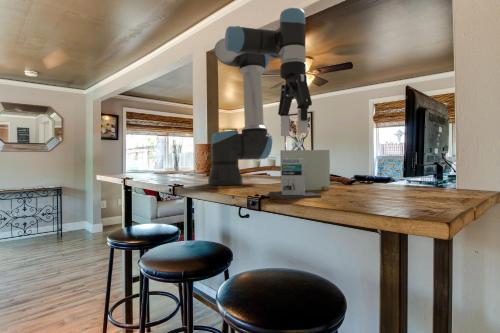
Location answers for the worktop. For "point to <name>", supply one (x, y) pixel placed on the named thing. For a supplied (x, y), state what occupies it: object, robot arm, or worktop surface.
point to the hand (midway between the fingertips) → (293, 134)
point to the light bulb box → (293, 176)
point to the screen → (312, 167)
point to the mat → (307, 195)
